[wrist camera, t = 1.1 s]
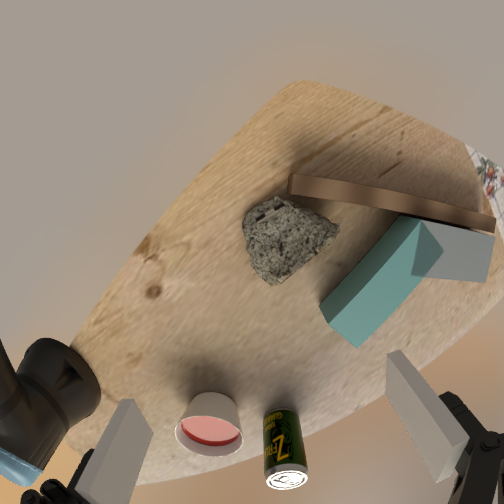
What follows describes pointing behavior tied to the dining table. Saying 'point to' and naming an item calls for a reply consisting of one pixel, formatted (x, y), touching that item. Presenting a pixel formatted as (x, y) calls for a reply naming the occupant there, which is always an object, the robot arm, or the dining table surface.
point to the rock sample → (284, 237)
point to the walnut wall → (387, 200)
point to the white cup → (210, 426)
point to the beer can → (283, 450)
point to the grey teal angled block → (403, 272)
